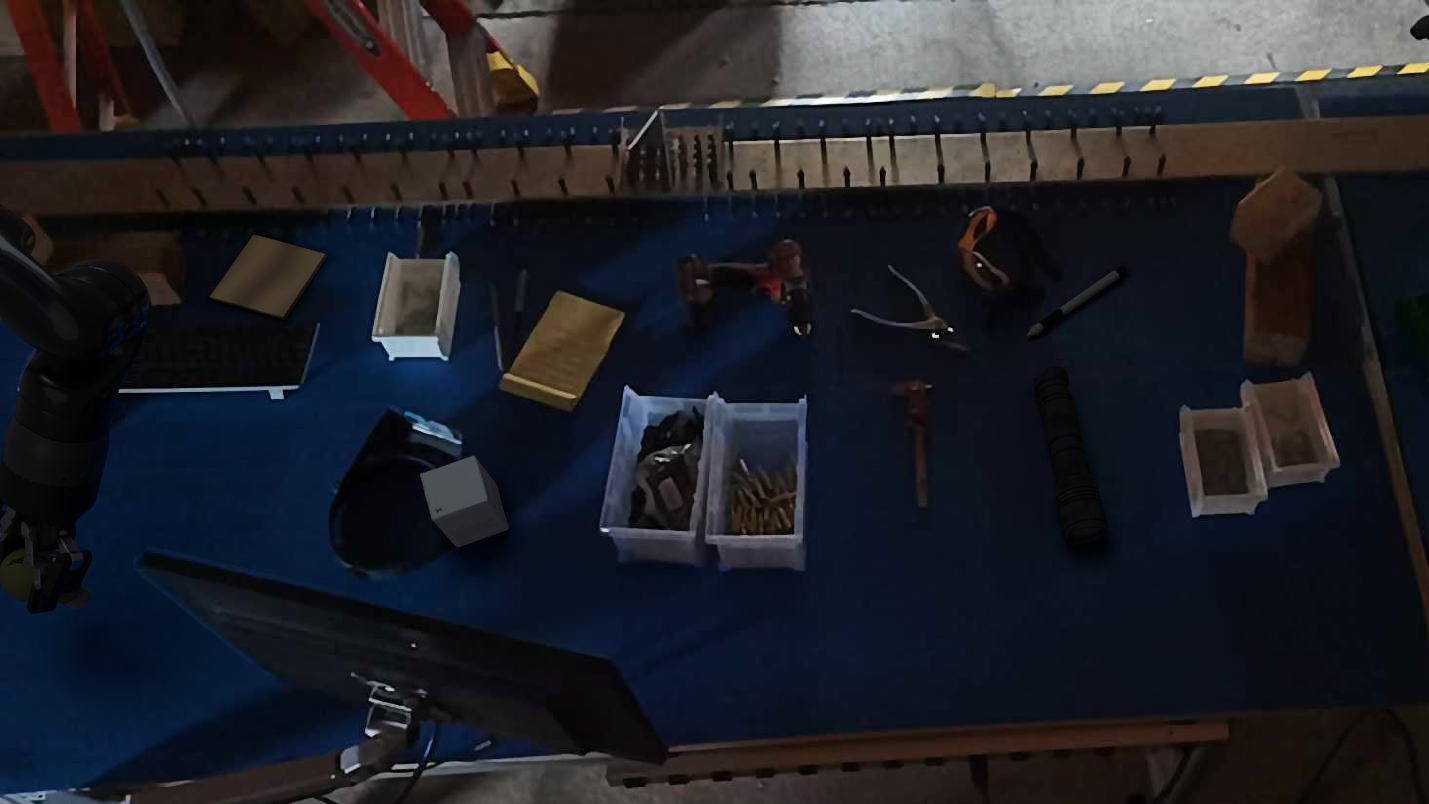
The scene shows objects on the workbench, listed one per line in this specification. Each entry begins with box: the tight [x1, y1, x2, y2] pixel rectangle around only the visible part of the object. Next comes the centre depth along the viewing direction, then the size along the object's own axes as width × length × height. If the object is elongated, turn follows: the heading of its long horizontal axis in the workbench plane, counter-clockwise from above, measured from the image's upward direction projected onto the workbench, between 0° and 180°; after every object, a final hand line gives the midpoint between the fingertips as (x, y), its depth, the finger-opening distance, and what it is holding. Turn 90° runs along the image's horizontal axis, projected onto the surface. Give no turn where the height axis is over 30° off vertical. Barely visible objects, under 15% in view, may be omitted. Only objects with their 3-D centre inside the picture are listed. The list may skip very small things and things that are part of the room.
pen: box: [1025, 265, 1128, 338], centre depth 138 cm, size 1×16×1 cm, turn 129°
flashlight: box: [1032, 365, 1109, 546], centre depth 127 cm, size 5×21×5 cm, turn 9°
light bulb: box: [0, 547, 92, 610], centre depth 113 cm, size 6×6×10 cm
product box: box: [419, 455, 510, 548], centre depth 122 cm, size 6×6×7 cm
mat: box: [209, 234, 328, 321], centre depth 139 cm, size 10×10×1 cm
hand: (25, 589), depth 112 cm, fingers closed on light bulb, 5 cm apart
